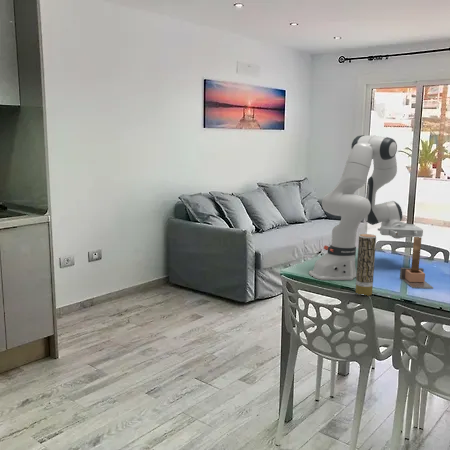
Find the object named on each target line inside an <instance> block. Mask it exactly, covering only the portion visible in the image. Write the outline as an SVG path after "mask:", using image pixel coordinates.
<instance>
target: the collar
mask: <svg viewBox="0 0 450 450" xmlns="http://www.w3.org/2000/svg"><path fill="white" fill-rule="evenodd" d="M405 278H406V279H407V280H408V281H409V282H426V281H425V280H426V273H425V272H424V271H423V272H422V271H421V270H419V272H418V273H412V272H411V270H406V271H405Z"/></svg>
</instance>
